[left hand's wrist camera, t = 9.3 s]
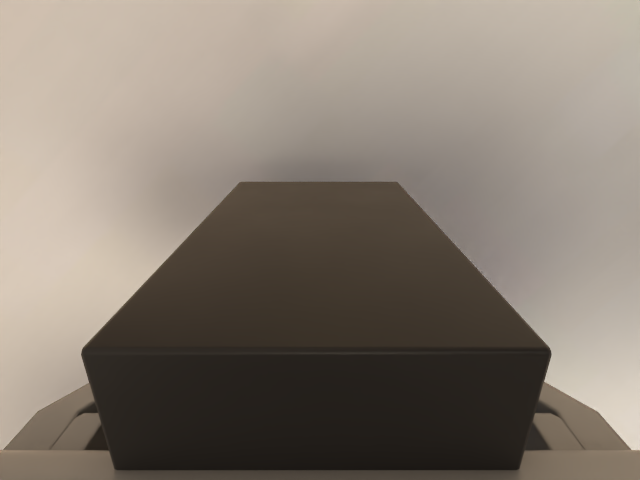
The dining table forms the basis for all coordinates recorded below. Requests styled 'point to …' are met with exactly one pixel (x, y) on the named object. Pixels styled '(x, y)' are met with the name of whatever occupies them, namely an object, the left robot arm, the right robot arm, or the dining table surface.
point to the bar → (316, 344)
